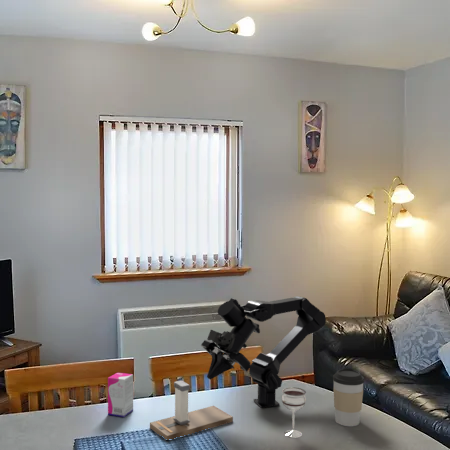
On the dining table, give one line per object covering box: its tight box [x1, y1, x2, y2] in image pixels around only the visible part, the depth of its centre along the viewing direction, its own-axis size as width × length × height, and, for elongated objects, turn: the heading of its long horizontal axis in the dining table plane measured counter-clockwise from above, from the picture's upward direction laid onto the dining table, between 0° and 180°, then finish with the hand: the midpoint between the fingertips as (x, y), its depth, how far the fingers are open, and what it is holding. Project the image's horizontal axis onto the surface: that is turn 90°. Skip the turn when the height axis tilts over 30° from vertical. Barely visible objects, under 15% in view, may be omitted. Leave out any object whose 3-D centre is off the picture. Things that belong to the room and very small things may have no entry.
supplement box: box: [107, 372, 134, 418], centre depth 163 cm, size 6×6×12 cm
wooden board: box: [149, 405, 234, 440], centre depth 155 cm, size 22×10×2 cm, turn 125°
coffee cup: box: [332, 367, 365, 427], centre depth 158 cm, size 9×9×15 cm
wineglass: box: [281, 387, 307, 439], centre depth 150 cm, size 7×7×12 cm
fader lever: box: [173, 380, 191, 425], centre depth 153 cm, size 3×4×11 cm
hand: (208, 378), depth 158 cm, fingers closed
